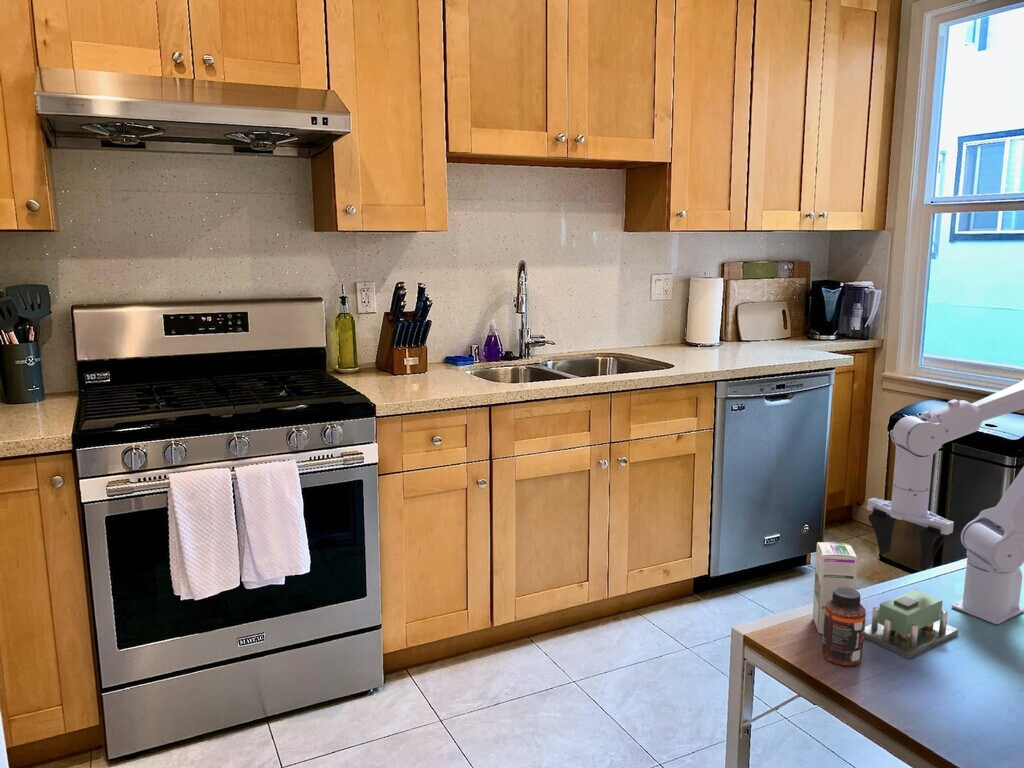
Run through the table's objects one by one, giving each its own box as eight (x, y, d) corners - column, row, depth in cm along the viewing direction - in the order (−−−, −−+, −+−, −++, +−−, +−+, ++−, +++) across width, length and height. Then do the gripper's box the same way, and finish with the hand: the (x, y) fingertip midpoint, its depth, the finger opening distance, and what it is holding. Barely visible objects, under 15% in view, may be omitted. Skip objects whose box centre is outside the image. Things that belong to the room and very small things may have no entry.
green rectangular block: (913, 608, 134) (915, 586, 134) (940, 619, 130) (942, 596, 130) (878, 623, 129) (880, 600, 128) (905, 635, 125) (907, 612, 124)
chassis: (906, 613, 138) (909, 589, 137) (957, 634, 130) (960, 610, 129) (858, 634, 131) (859, 610, 130) (908, 659, 123) (911, 633, 122)
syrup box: (853, 637, 130) (860, 556, 127) (816, 634, 131) (822, 553, 128) (846, 621, 135) (852, 542, 132) (810, 618, 136) (816, 540, 134)
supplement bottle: (867, 668, 120) (873, 601, 118) (828, 667, 121) (833, 600, 119) (854, 648, 126) (859, 584, 124) (817, 647, 127) (821, 583, 125)
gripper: (859, 479, 138) (853, 550, 140) (939, 502, 126) (931, 580, 128) (883, 472, 141) (877, 542, 144) (963, 494, 129) (955, 570, 132)
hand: (904, 559), depth 136 cm, fingers open, 7 cm apart
